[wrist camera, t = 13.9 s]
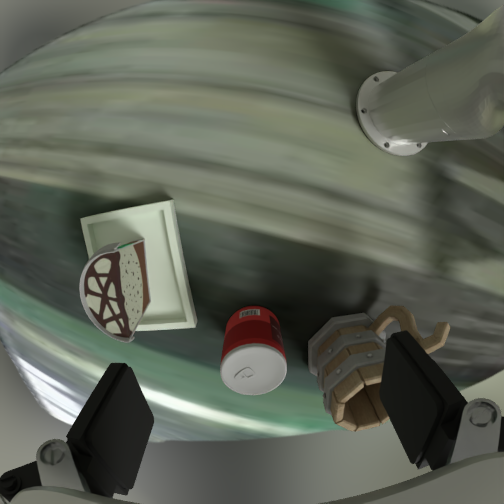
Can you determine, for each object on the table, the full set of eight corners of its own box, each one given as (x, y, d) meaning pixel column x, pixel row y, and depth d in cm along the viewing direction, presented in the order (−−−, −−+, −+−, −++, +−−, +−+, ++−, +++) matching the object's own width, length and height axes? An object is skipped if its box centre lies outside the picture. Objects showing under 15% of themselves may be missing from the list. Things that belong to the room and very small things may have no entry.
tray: (173, 199, 38) (169, 200, 36) (197, 320, 42) (195, 327, 41) (87, 216, 38) (80, 218, 36) (116, 325, 43) (111, 331, 41)
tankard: (342, 387, 47) (365, 449, 32) (291, 355, 44) (305, 425, 30) (423, 306, 42) (473, 353, 28) (380, 262, 40) (434, 305, 26)
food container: (105, 228, 38) (68, 246, 28) (144, 228, 38) (112, 246, 28) (116, 307, 41) (87, 340, 32) (152, 310, 41) (129, 346, 32)
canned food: (216, 329, 43) (206, 375, 32) (250, 293, 41) (250, 333, 31) (254, 356, 44) (255, 404, 34) (289, 323, 43) (300, 368, 32)
